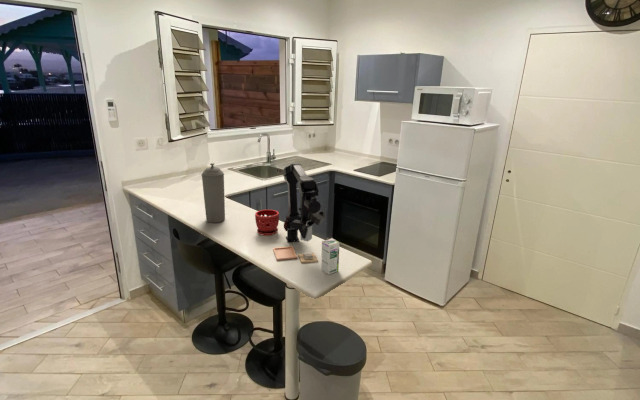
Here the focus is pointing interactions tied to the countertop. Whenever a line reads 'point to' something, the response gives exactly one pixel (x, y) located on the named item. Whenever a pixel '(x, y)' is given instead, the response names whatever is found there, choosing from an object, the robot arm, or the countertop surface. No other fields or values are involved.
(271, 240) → the countertop surface
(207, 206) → the canister
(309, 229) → the strut
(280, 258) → the tray
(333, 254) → the syrup box
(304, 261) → the stud base
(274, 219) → the plant pot
